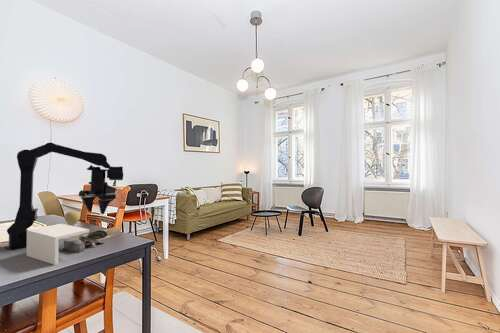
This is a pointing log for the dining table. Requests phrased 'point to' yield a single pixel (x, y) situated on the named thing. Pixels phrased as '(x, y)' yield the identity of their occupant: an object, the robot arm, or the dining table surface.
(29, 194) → the robot arm
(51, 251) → the low shelf
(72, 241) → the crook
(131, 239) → the dining table surface
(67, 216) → the light bulb
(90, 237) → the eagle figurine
